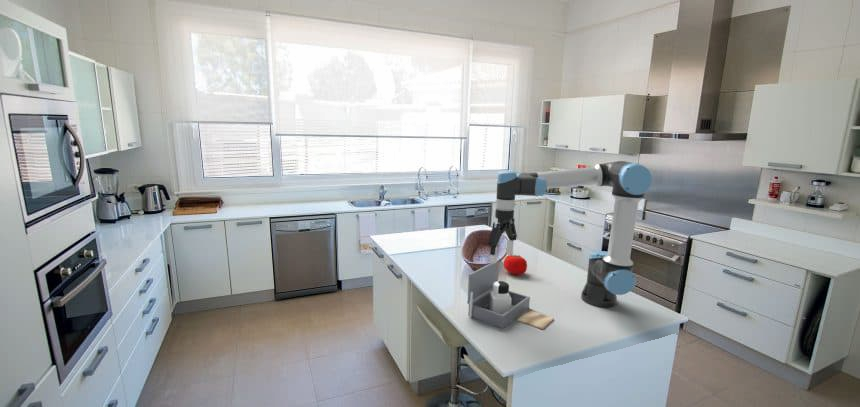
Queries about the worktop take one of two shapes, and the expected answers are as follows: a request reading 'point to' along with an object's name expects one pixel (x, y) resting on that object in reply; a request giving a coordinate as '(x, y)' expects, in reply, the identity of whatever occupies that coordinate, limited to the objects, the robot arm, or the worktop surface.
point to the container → (500, 298)
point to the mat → (535, 319)
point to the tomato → (515, 264)
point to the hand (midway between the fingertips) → (501, 258)
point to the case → (480, 297)
